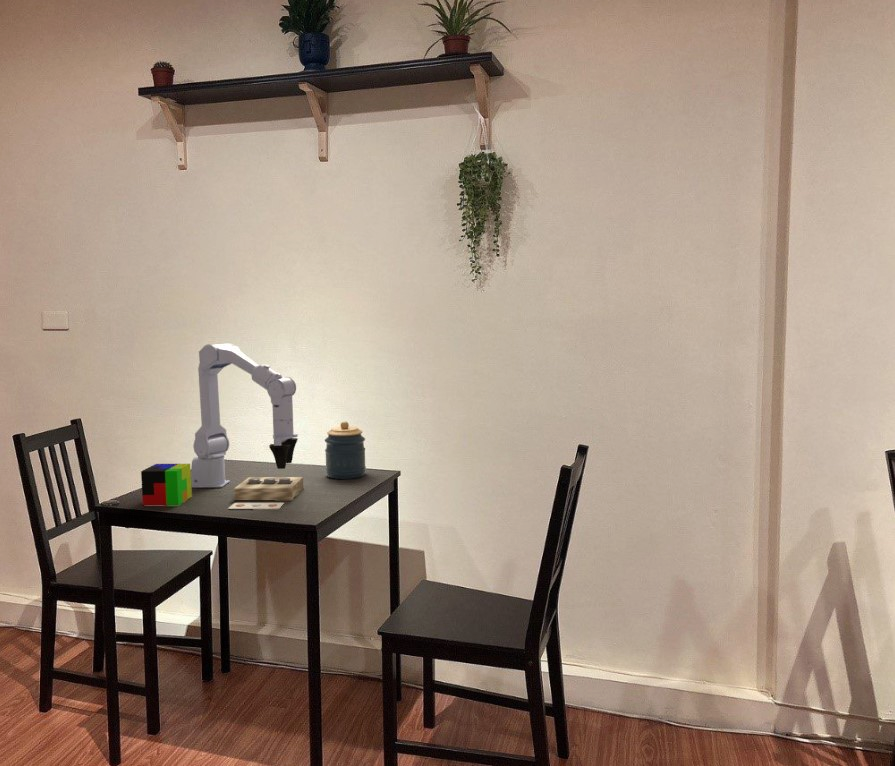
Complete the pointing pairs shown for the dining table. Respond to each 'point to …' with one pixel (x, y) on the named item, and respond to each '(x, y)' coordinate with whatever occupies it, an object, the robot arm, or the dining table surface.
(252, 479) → the left button
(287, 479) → the right button
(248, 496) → the button board
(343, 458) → the canister
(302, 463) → the dining table surface
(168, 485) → the puzzle toy
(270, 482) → the middle button
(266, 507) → the card
